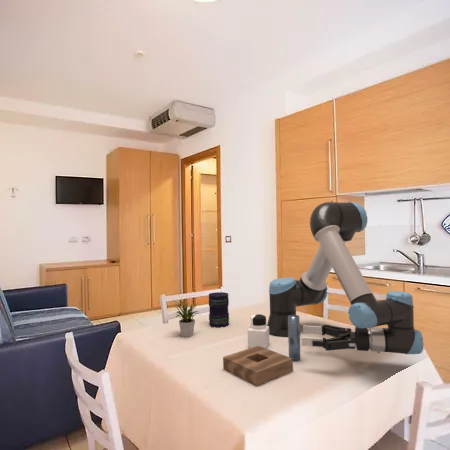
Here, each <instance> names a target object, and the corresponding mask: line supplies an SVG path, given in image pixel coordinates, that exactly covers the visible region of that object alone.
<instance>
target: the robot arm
mask: <svg viewBox="0 0 450 450" xmlns="http://www.w3.org/2000/svg"><path fill="white" fill-rule="evenodd" d="M367 226H368V216H367V210H366V209H365V208H364V206H363V205H361V204H359V203H358V202H352V201H348V202H340V201H339V202H333V201H326V202H322V203H320V204H318V205H317V206H316V207H315V208H314V209H313V211H312V212H311V215H310V218H309V228H310V232H311V235H312V237H313V238H314V240H315V241H316V242H318V243H319V246H318V249H317V250H316V253H315V255H314V257H313V258H312V261H311V263H310V265H309V268H308V269H307V271H304V272H302V274H301V276H300V278H299V279H298V280H297V279H295V278H294V277H279V278H275V279H273V280H272V281H270V282H269V288H268V290H269V291H268V293H269V296H268V297H269V317H268V320H267V323H266V326H269V335H272V336H277V337H288V316H289V315H297V307H305V306H315V305H319V304H321V303H323V302H324V301H325V300H326V299H327V297H328V294H329V293H328V291H329V289H328V285H327V281H326V280H327V279H328V277H329V275H330V272H331V271H332V269H333V272H334V273H335V276H336V277H337V279H338V282H339V283H340V285H341V288H342V289H343V292H344V293H345V295H346V297H347V299H348V301H349V303H350V306H349V307H348V311H347V312H348V315H349V316H348V319H349V321H350V322H351V324H352V325H353V326H354V327H355V328H354V331H352V328H347V327H341V326H340V327H339V326H335V325H331V324H323V325H307V324H306V325H304V324H303V326H302V327H303V329H302V331H303V334H310V335H322V337H310V336H309V337H307V336H302V337H301V347H308V348H310V347H312V348H323V349H324V350H325V351H329V352H330V351H337V350H348V349H349V350H355V349H356V350H357V351H359V352H360V351H361V352H368V351H371V352H376V353H377V354H380V353H390V354H391V353H393V354H400V355H401V354H404V355H419V354H423V352H424V351H423V350H424V347H425V346H424V345H425V344H424V337H423V334H422V332H421V331H420V330H419V329H415V325H414V323H415V322H414V308H415V307H414V299H413V295H412V294H411V293H410V292H406V291H402V290H400V291H399V290H391V291H388V292H387V293H386V298H385V299H381V300H377V298H376V297H375V295H374V294H373V291H372V290H371V289H370V285H368V283H367V281H366V279H365V277H364V276H363V274H362V272H361V270H360V269H359V267H358V264H357V263H356V261H355V259H354V258H353V255H352V253H351V252H350V250H349V248H348V247H347V245H346V243H347V242H351V241H352V240H353V238H354V237H355V234H356V233H360V232H362V231H365V229H366V227H367ZM386 325H387V327H380V326H386ZM302 331H301V326H300V334H302V333H301V332H302ZM326 335H327V336H331V337H330V338H326V337H323V336H326Z"/></svg>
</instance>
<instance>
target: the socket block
mask: <svg viewBox="0 0 450 450" xmlns="http://www.w3.org/2000/svg"><path fill="white" fill-rule="evenodd" d="M222 363H223V364H222V367H223V370H225V372H228V373H230V374H232V375H234V376H236V377H238V378H240V379H241V380H243V381H246V382H248V383H249V384H251V385H253V386H256V387H259V386H261V385H264V384H266V383H269V382H271V381H273V380H275V379H278V378H279V377H282V376H285V375H287V374H289V373H292V372H294V361H293V358H290V357H289V356H287V355H284V354H281V353H279V352H276V351H273V350H271V349H268V348H263V347H260V346H255V347H252V348H247V349H244V350H243V349H242V350H241V351H238V352H234V353H231V354H228V355H224V356H223V357H222Z"/></svg>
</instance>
